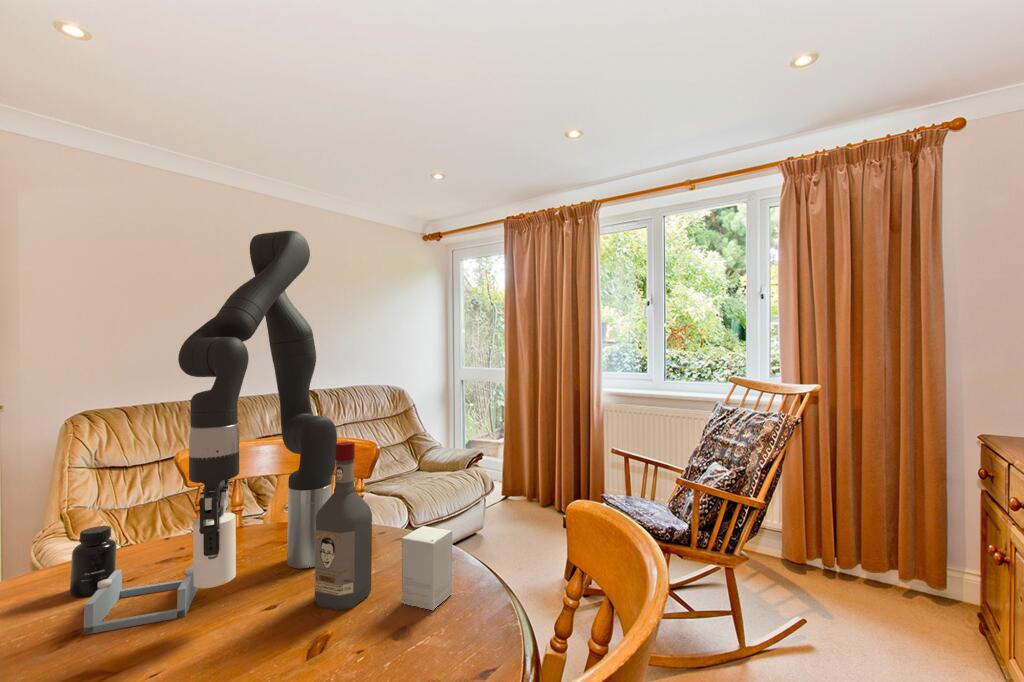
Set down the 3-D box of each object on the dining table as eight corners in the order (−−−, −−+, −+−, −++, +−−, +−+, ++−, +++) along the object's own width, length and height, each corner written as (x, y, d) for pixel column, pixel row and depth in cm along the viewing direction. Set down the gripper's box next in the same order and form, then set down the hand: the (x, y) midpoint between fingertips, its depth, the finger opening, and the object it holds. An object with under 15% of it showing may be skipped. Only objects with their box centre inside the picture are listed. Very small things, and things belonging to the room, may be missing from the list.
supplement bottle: (88, 600, 92) (90, 537, 93) (60, 596, 94) (62, 534, 94) (124, 583, 99) (125, 525, 99) (97, 580, 100) (99, 522, 101)
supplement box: (453, 594, 95) (454, 530, 95) (432, 612, 88) (432, 543, 88) (422, 587, 98) (423, 524, 98) (399, 604, 91) (400, 537, 92)
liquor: (339, 583, 99) (341, 438, 100) (377, 590, 96) (378, 440, 97) (307, 605, 91) (309, 446, 92) (347, 613, 88) (349, 449, 89)
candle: (191, 592, 79) (190, 501, 79) (195, 575, 85) (195, 491, 85) (235, 583, 82) (234, 495, 82) (236, 567, 88) (236, 485, 88)
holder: (202, 582, 100) (203, 554, 100) (187, 616, 87) (188, 583, 87) (111, 596, 93) (112, 566, 94) (80, 635, 81) (81, 600, 81)
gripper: (234, 457, 79) (234, 559, 78) (243, 441, 92) (243, 529, 92) (179, 462, 76) (179, 568, 75) (197, 445, 89) (197, 535, 89)
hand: (214, 546), depth 83 cm, fingers closed on candle, 6 cm apart
